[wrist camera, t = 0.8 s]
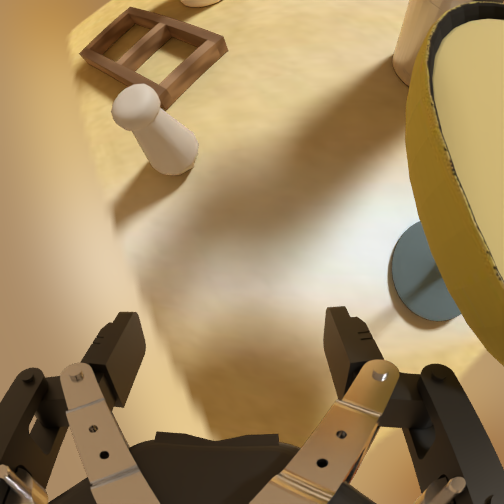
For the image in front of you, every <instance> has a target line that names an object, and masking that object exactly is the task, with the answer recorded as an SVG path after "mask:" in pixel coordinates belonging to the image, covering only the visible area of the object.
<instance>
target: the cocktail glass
mask: <svg viewBox="0 0 504 504" xmlns="http://www.w3.org/2000/svg"><path fill="white" fill-rule="evenodd" d="M405 143H406V152H407V159H408V168H409V177H410V182H411V186H412V190H413V194H414V198H415V202H416V207H417V211H418V216H419V219H420V222H417V223H415V224H414V225H412V226H411V227H410V228H409V229H407V230H406V231H405V232H404V234H403V235H402V236H401V238H400V239H399V241H398V243H397V245H396V248H395V251H394V254H393V260H392V276H393V281H394V285H395V288H396V290H397V293H398V295H399V297H400V298H401V300H402V301H403V303H404V304H405V305H406V306H407V307H408V308H409V309H410V310H411V311H412V312H414V313H415V314H417V315H418V316H420V317H422V318H425V319H428V320H433V321H445V320H449V319H452V318H455V317H457V316H459V315H460V314H462V315H463V317H464V319H465V321H466V323H467V324H468V325H469V327H470V328H471V329H472V331H473V332H474V333H475V335H476V336H477V337H478V339H479V340H480V341H481V343H482V344H483V345H484V347H485V348H486V349H487V351H488V352H489V353H490V354H491V355H492V356H493V357H494V358H495V359H497V360H498V361H499V362H500V363H501V364H502V365H503V366H504V4H501V3H496V2H471V3H465V4H460V5H458V6H456V7H454V8H452V9H450V10H448V11H446V12H445V13H444V14H443V15H442V16H441V17H440V18H439V19H438V20H437V21H436V22H435V23H434V24H433V25H432V26H431V27H430V29H429V31H428V33H427V35H426V37H425V39H424V41H423V43H422V45H421V47H420V50H419V52H418V54H417V56H416V60H415V63H414V66H413V71H412V76H411V81H410V86H409V91H408V96H407V101H406V130H405Z"/></svg>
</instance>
